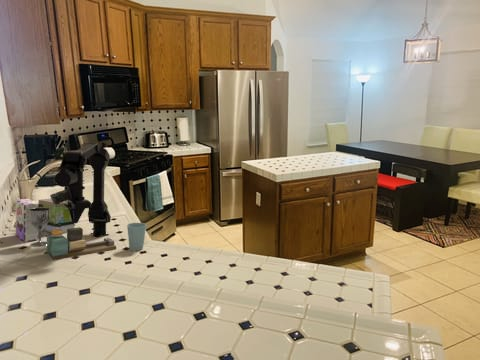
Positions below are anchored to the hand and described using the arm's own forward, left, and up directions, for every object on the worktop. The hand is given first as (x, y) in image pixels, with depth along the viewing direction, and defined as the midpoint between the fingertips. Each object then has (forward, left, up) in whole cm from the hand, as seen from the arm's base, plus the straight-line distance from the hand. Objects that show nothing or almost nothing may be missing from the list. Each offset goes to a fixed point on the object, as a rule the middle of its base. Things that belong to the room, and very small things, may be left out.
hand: (74, 222), depth 142 cm
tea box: (-38, +4, -12) cm, 40 cm away
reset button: (0, -7, -4) cm, 8 cm away
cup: (+9, +22, -12) cm, 27 cm away
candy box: (-31, -10, -12) cm, 35 cm away
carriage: (0, 0, -10) cm, 10 cm away
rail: (0, +3, -12) cm, 12 cm away
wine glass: (-18, -8, -12) cm, 23 cm away
